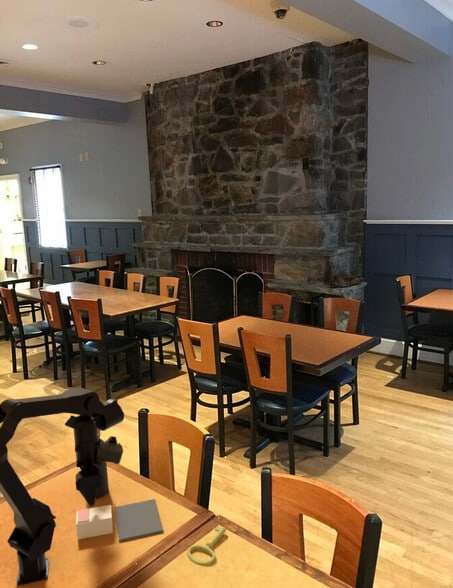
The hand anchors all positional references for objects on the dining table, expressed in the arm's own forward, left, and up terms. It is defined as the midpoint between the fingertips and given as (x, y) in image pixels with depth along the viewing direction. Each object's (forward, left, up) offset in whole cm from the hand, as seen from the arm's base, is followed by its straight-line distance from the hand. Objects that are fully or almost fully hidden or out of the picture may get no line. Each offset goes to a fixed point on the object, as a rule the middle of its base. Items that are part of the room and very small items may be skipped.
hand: (91, 495), depth 124 cm
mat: (0, -11, -10) cm, 15 cm away
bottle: (+17, -1, -10) cm, 20 cm away
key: (-16, -26, -10) cm, 33 cm away
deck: (0, 0, -10) cm, 10 cm away
